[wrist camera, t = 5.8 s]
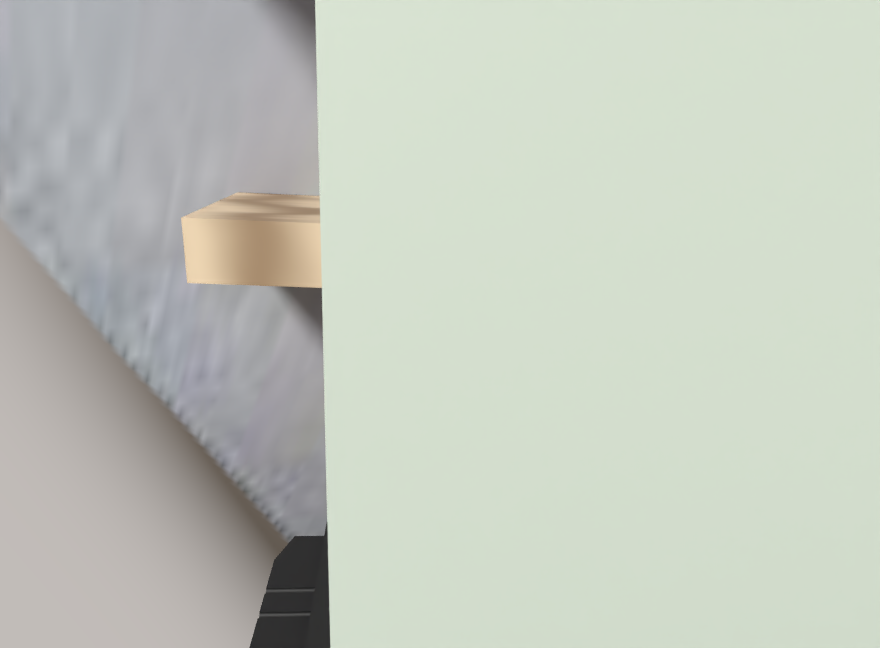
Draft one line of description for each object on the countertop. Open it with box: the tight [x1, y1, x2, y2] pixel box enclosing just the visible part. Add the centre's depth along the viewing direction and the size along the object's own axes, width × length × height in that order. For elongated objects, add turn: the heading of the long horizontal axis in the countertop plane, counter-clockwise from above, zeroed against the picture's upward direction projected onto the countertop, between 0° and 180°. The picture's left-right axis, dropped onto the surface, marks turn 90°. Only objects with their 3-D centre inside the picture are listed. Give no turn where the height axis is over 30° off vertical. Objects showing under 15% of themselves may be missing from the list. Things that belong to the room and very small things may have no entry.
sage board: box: [315, 0, 880, 648], centre depth 11 cm, size 3×16×15 cm, turn 178°
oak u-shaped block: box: [181, 192, 322, 288], centre depth 32 cm, size 18×3×9 cm, turn 87°
